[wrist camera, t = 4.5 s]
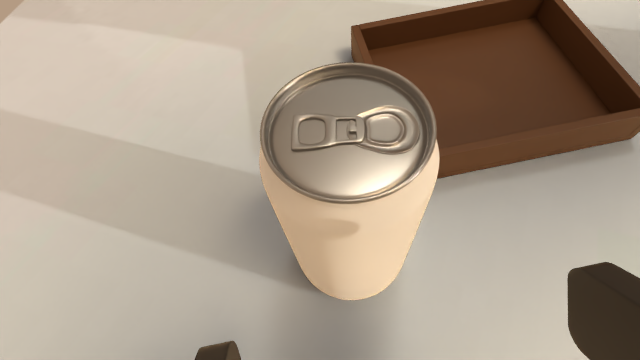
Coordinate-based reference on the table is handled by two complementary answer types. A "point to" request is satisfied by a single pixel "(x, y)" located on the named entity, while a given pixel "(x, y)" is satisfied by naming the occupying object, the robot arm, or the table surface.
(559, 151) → the tray
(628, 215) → the table surface
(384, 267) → the can
